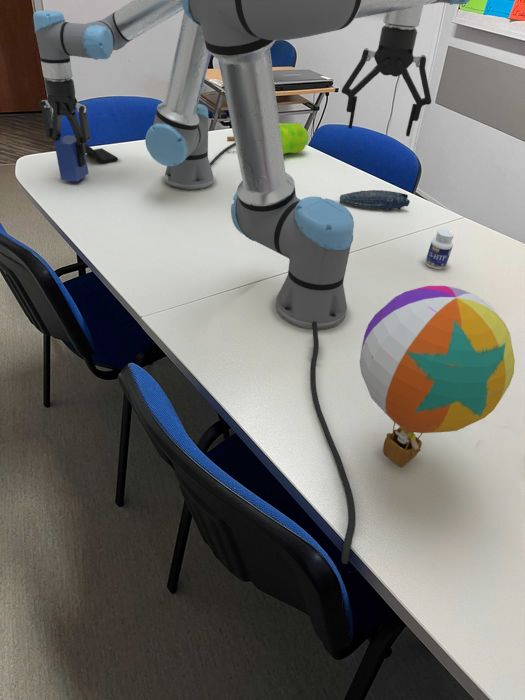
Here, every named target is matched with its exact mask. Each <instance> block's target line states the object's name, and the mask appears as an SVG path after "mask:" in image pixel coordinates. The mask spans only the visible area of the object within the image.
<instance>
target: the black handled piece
mask: <svg viewBox="0 0 525 700" xmlns="http://www.w3.org/2000/svg"><path fill="white" fill-rule="evenodd" d="M85 148H86V155H88V156H89V157H91V158H93V159H94V160H96V161H98V162H99V163H101V164H107V163H111V162H115V161H116V162H117V161H118V160H119V158H118V157H117V155H116V156H115V155H114V154H112V153H111V152H109V151H107V150H106V149H103V148H102V147H101V148H96V149H93V148H92V147H91V146H90V145H88V144H86V143H85Z"/></svg>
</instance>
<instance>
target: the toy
mask: <svg viewBox="0 0 525 700" xmlns="http://www.w3.org/2000/svg"><path fill="white" fill-rule="evenodd" d="M360 349H361V350H360V354H359V355H360V357H359V368H360V374H361V376H362V379H363V381H364V384H365V387H366V389H367V390H368V393H369V397H370V398H371V399H372V401H373V402H374V403H375V404H376V405H377V406H378V407H379V408H380V409H381V410H382V412H384V414H385V415H386V416H387V417H388V418H389V419H390V420H391V421H392V422H393V426H392V427H393V428H392V432H391V433H390V432H389V433H387V434H386V435H385V436H386V437H385V439H384V442H383V447H382V453H383V455H384V456H385V457H386V458H387V459H389V460H390V461H391V462H392V463H394V464H395V465H396V466H398V467H399V468H403V467H404V466H406V465H407V464H408V463H410V461H412V460H413V459H414V458H415V457H416V456H417V455H418V454H419V453H420V452H421V451H422V449H421V447H422V445H423V442H422V440H421V439H420V438H421V436H422V435H423V434H433V433H447V432H448V433H449V432H456V431H459V430H461V429H464V428H466V427H468V426H470V425H473V424H475V423H477V422H479V421H481V420H483V419H485V418H486V417H488V416H489V415H490V414H491V413H492V412H494V411H495V408H497V406H498V404H499V403H500V401H501V400H502V398H503V396H504V395H505V393H506V392H507V390H508V389H509V387H510V386H511V382H512V381H513V380H512V379H513V377H514V373H515V362H516V359H515V353H514V348H513V343H512V337H511V332H510V331H509V327H507V325H506V323H505V321H504V320H503V319H502V317H501V316H500V315H499V314H498V312H497V311H496V310H495V309H494V308H493V307H492V306H491V305H490V304H489V303H488V302H487V301H485V300H484V299H482V298H481V297H479V296H478V295H477V294H474V293H472V292H469V291H466V290H463V289H461V288H458V287H453V286H448V285H425V286H421V287H417V288H413V289H409V290H407V291H404V292H402V293H400V294H398V295H396V296H394V297H393V298H392V299H391V300H390V301H389V302H388V303H386V304H385V305H384V306H383V307H382V308H381V309H380V310H379V311H377V312H376V313H375V314H374V316H373V317H372V318H371V320H370V321H369V323H368V325H367V327H366V329H365V333H364V335H363V340H362V345H361V348H360ZM396 425H397V426H398V428H397V429H395V426H396ZM415 433H416V434H417V433H418V434H419V436H418V437H417V436H416V434H415Z"/></svg>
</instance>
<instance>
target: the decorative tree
mask: <svg viewBox="0 0 525 700" xmlns="http://www.w3.org/2000/svg"><path fill="white" fill-rule="evenodd" d="M279 125H280V133H281V141H282V149H283V155H285V154H298V153H301V152H302V151H304V150H305V148H306V146H307V145H308V143H309V142H308V141H309V132H308V131H307V128H305V127H304V126H303V125H302V124H301V123H298V122H296V123H295V122H293V123H291V122H289V123H288V122H285V123H282V122H279ZM226 138H227V139H226V142H235V140H234V136H227V137H226Z"/></svg>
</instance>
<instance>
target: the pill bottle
mask: <svg viewBox="0 0 525 700" xmlns="http://www.w3.org/2000/svg"><path fill="white" fill-rule="evenodd" d="M454 236H455V235H454V233H453V231H451V230H449V229H444V228H443V229H442V228H441V229H438V230H437V231H436V234H435V237H433V238H432V240H431V241H430V245H429V247H428V251H427V253H426V257H425V261H424V263H425V264H426V266H428V267H429V268H431V269H435V270H442V269H445V268H446V267H447V264H448V262H449V261H448V260H449V258H450V255H451V253H452V250H453V246H454V243H453V242H452V241H453V239H454Z"/></svg>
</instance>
